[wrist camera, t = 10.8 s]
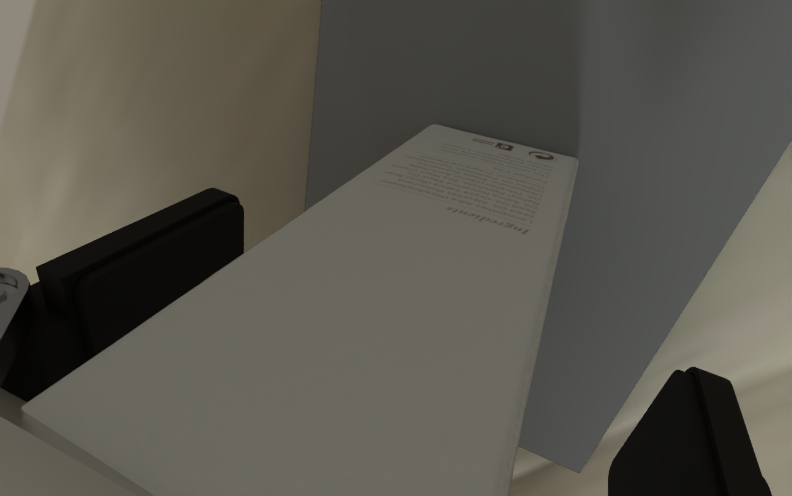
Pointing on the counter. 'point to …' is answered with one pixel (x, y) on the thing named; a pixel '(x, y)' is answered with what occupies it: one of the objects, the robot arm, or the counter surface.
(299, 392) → the skincare box
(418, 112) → the mat
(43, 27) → the counter surface
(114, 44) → the counter surface
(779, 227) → the counter surface
